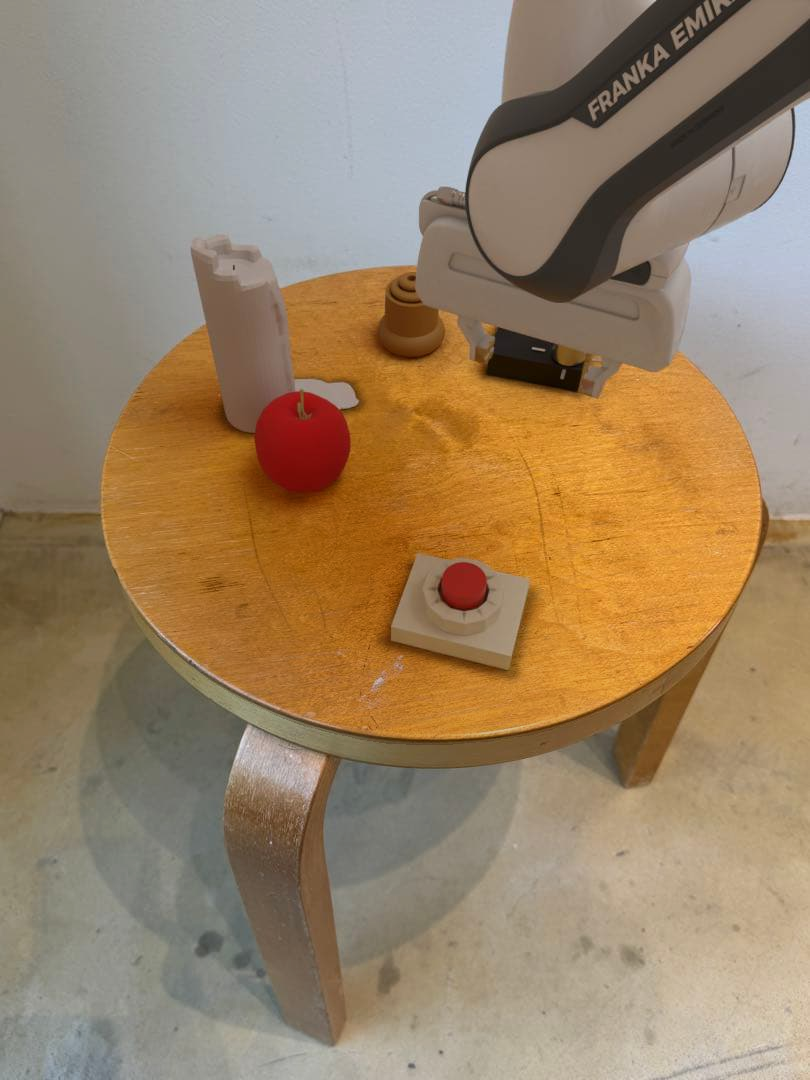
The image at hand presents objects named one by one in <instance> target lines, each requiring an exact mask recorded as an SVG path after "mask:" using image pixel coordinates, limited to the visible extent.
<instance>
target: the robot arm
mask: <svg viewBox="0 0 810 1080" xmlns="http://www.w3.org/2000/svg"><path fill="white" fill-rule="evenodd" d="M510 11H511V12H510V17H509V23H508V29H507V36H506V44H505V52H504V61H503V71H502V81H501V82H502V84H501V96H500V97H501V98H500V99H501V100H500V102H501V103H500V105H498V106H497V107H496V108H495V109H494V110H493V111H492V112H491V113H490V116H489V117H488V118H487V120H486V123H485V125H484V126H483V129H482V131H481V133H480V135H479V138H478V140H477V143H476V145H475V148H474V149H473V150H474V151H473V153H472V156H471V160H470V162H469V163H470V164H469V167H468V171H467V177H466V181H465V182H466V183H465V190H464V191H462V190H459V189H456V188H455V187H451V186H440V187H438V189H437V190H435V189H434V190H431V191H428V192H427V193H425V194H424V195H423V197H422V198H421V199H420V202H419V206H418V228H419V231H420V234H421V236H422V239H421V242H420V247H419V252H418V258H417V263H416V271H415V272H416V283H415V290H416V293H417V295H418V297H419V298H420V300H421V301H422V303H423V304H424V305H426V306H428V307H431V308H435V309H438V311H442V312H445V313H449V314H453V315H456V316H457V326H458V327H459V329H460V331H461V332H462V334H463V337H464V338H465V340H466V342H467V344H468V345H469V355H468V359H469V360H470V361H473V362H476V363H480V364H482V365H487V363H488V361H489V359H491V357H492V356H493V353H494V347H493V345H494V344H495V337H494V336H495V335H494V336H493V335H491V334H488V333H487V332H486V330H485V327H484V325H483V324H487V325H490V326H493V327H496V328H498V327H500V328H503V329H507V330H510V331H514V332H517V333H520V334H524V335H527V336H531V337H534V338H538V339H541V340H544V341H548V342H551V343H555V344H558V345H562V346H565V347H568V348H572V349H575V350H579V351H582V352H586V353H587V354H588V355H589V354H590V355H593V356H595V357H600V358H601V359H600V360H601V363H600V366H596V365H592V364H590V365H588V368H587V369H586V372H585V374H584V375H583V376H582V378H581V383H580V385H581V387H580V390H579V394H582V395H584V396H587V397H590V398H593V399H596V400H598V399H599V398H600V396H601V394H602V392H603V390H604V388H605V386H606V382H607V381H608V380H610V379H611V378H612V377H613V376H614V375H615V374H617V373H618V372H619V370H620V369H621V367H622V364H623V365H626V366H630V367H634V368H637V369H641V370H644V371H647V372H651V373H657V372H660V371H662V370H664V369H665V368H666V367H669V366H670V365H671V364H672V362H673V360H674V358H675V356H676V354H677V352H678V349H679V347H680V344H681V342H682V338H683V335H684V332H685V328H686V322H687V317H688V313H689V306H690V300H691V290H692V274H691V270H690V267H689V263H688V262H687V260H686V259H685V255H686V253H687V251H688V248H689V246H690V242H692V241H694V240H697V239H698V238H700V237H703V236H706V235H708V234H710V233H712V232H714V231H717V230H719V229H721V228H723V227H725V226H727V225H729V224H732V223H734V222H735V221H738V220H739V219H741V218H743V217H745V216H747V215H748V214H751V213H752V212H753V213H754V212H756V211H757V210H758V209H760V208H761V207H762V206H764V205H765V204H766V203H767V202H768V201H769V200H770V199H771V198H772V197H773V196H774V195H775V193H776V192H777V191H778V189H779V188H780V186H781V184H782V182H783V180H784V179H785V176H786V174H787V171H788V168H789V166H790V163H791V160H792V156H793V152H794V146H795V139H796V127H797V126H796V111H795V107H797V106H799V105H800V104H802V103H804V102H805V101H807V100H810V0H513V2H512V7H511V10H510Z"/></svg>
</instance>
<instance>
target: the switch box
mask: <svg viewBox="0 0 810 1080" xmlns="http://www.w3.org/2000/svg"><path fill="white" fill-rule="evenodd" d="M459 562H468V563H472V564H475V565H477V566H478V567H480V568H481V569H482V570H483V572H484V573H485V575H486V578H487V584H486V592H485V597H484V600H483V601H482V603H481V604H480V605H478V606H477V607H475V608H473V609H470V610H459V609H455V608H453V607H451V606H449V605H448V604H447V603H446V602H445V601H444V599H443V597H442V594H441V587H442V576H443V573H444V571H445V570H446V569H447V568H448V567H449V566H451V565H452V564H455V563H459ZM530 583H531V579H530V578H527V577H523V576H520V575H519V576H518V575H515V574H510V573H506V572H502V571H497V570H494V569H492V568H491V567H490V566H488V564H486V563H485V562H484V561H480V560H476V559H473V558H467V557H457V558H453V559H452V558H451V559H446V558H442V557H438V556H433V555H429V554H425V553H421V552H417V553H416V556H415V559H414V561H413V565H412V567H411V569H410V572H409V576H408V577H407V581H406V584H405V586H404V589H403V592H402V595H401V597H400V600H399V602H398V605H397V609H396V611H395V614H394V617H393V620H392V622H391V625H390V640H391V642H395V643H399V644H401V645H406V646H411V647H414V648H418V649H423V650H427V651H430V652H435V653H438V654H441V655H447V656H450V657H454V658H458V659H463V660H466V661H470V662H473V663H479V664H482V665H486V666H489V667H494V668H497V669H502V670H505V671H509V670H510V666H511V662H512V658H513V654H514V650H515V645H516V642H517V638H518V634H519V630H520V626H521V622H522V618H523V614H524V609H525V605H526V602H527V598H528V593H529V589H530Z"/></svg>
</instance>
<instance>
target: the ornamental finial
mask: <svg viewBox="0 0 810 1080" xmlns="http://www.w3.org/2000/svg"><path fill="white" fill-rule="evenodd" d="M415 283H416V271H408V272H405V273H402V274H400V275H398V276H396V277H395V278H394V279H392V280H391V281H389V282H388V284H386V287H385V293H384V314H383V315H382V317H381V318H380V320H379V322H378V326H377V334H378V335H377V336H378V338H379V340H380V343H381V344H382V346H383V347H384V348H385V349H386V350H388V351H389V352H390V353H392V354H394V355H397V356H400V357H404V358H419V357H423V356H426V355H429V354H431V353H433V352H434V351H435V350H437V349H438V348H439V347H440V345H442V342H443V340H444V337H445V333H446V329H445V323H444V321H443V319H442V318H441V316H440V315H439V310H438V309H435V308H431V307H428V306H426V305H424V304H423V303H422V301H421V300H420V298H419V297H418V295H417V293H416V290H415Z"/></svg>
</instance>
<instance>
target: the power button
mask: <svg viewBox="0 0 810 1080" xmlns="http://www.w3.org/2000/svg"><path fill="white" fill-rule="evenodd" d="M486 584H487V578H486V575H485V573H484V572H483V570H482V569H481V568H480V567H478V566H477V565H475V564H472V563H468V562H459V563H455V564H452V565H451V566H449V567H448V568H447V569H446V570H445V571H444V573H443V576H442V587H441V594H442V597H443V599H444V601H445V602H446V603H447V604H448V605H449V606H451V607H453V608H455V609H459V610H470V609H473V608H475V607H477V606H478V605H480V604H481V603H482V601H483V600H484V597H485V592H486Z"/></svg>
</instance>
